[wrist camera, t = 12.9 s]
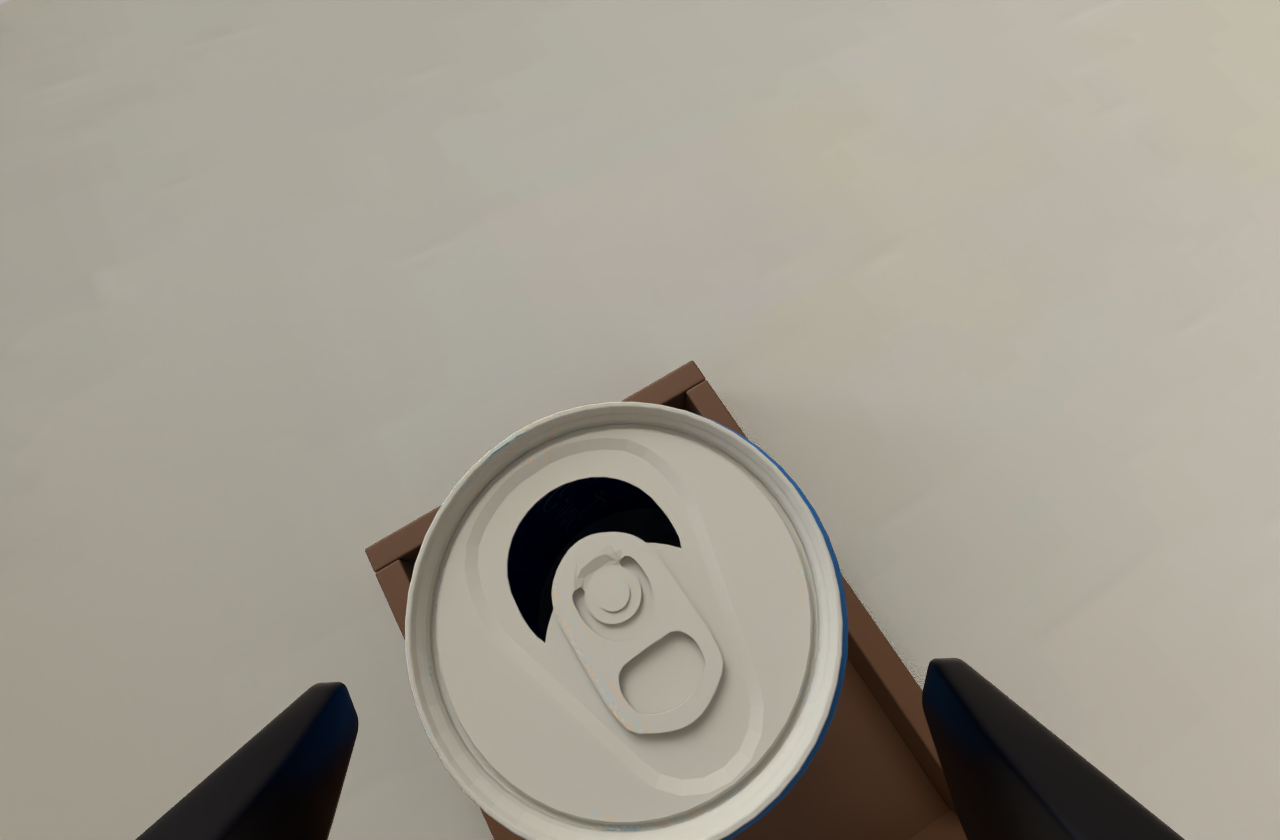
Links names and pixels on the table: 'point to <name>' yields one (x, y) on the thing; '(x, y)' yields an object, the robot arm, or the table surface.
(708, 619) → the beverage can
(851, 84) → the table surface
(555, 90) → the table surface
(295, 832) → the robot arm
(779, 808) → the tray
